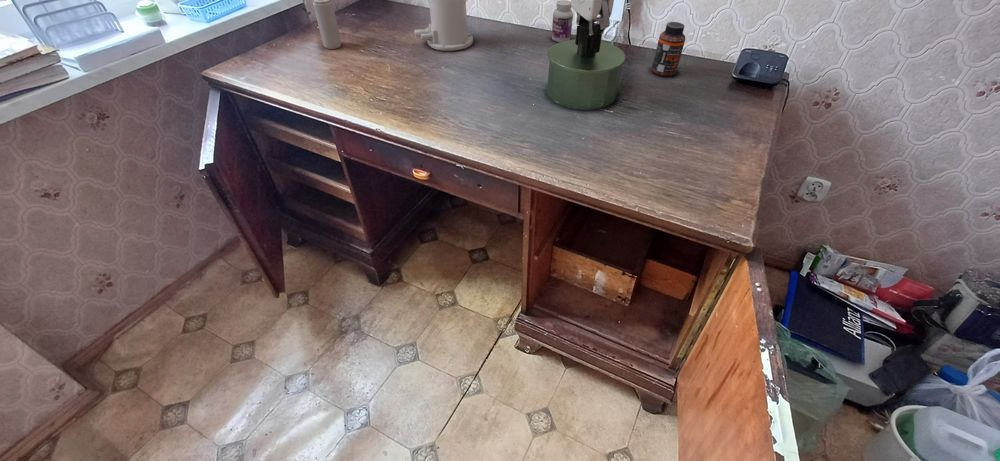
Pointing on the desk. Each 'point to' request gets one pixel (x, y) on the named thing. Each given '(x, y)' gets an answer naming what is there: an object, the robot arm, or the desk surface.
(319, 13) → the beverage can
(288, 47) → the desk surface
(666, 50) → the supplement bottle
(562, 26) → the pill bottle
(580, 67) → the tin lid
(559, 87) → the waste tin
